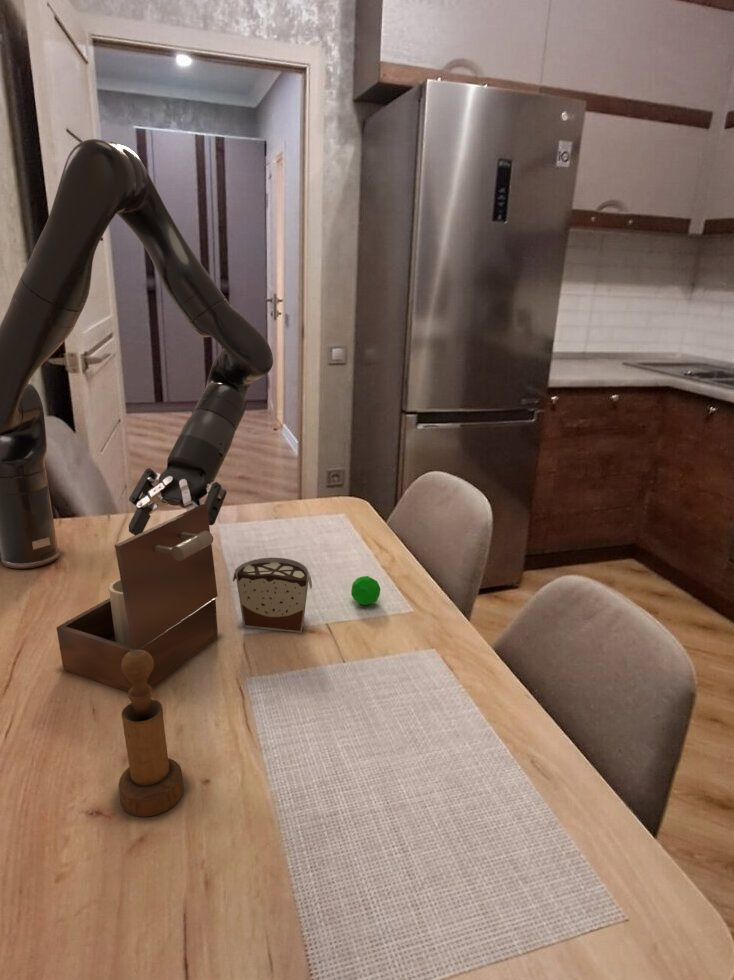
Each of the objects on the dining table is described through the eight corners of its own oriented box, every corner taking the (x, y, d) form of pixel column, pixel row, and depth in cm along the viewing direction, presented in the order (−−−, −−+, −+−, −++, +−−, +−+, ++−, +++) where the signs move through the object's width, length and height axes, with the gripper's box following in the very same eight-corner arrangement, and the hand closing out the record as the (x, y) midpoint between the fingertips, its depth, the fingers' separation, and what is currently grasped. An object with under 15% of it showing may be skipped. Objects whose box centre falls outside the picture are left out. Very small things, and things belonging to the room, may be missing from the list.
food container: (319, 614, 110) (319, 559, 107) (311, 633, 105) (311, 576, 101) (246, 607, 111) (244, 552, 107) (234, 626, 106) (231, 569, 102)
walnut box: (63, 669, 93) (56, 627, 90) (147, 616, 107) (143, 578, 104) (140, 696, 88) (135, 652, 85) (218, 637, 102) (215, 598, 100)
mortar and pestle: (112, 787, 73) (92, 646, 66) (171, 764, 77) (157, 628, 70) (131, 826, 68) (111, 679, 61) (193, 800, 72) (180, 658, 65)
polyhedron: (356, 611, 112) (357, 586, 110) (346, 598, 116) (347, 573, 114) (384, 607, 114) (385, 582, 112) (373, 594, 118) (374, 570, 116)
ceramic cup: (108, 649, 96) (100, 588, 92) (135, 632, 101) (128, 573, 97) (137, 659, 94) (130, 597, 91) (163, 641, 99) (158, 581, 95)
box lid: (114, 545, 80) (151, 551, 78) (202, 504, 94) (235, 508, 92) (132, 649, 85) (167, 657, 83) (213, 595, 100) (244, 601, 98)
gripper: (152, 426, 102) (103, 519, 97) (229, 440, 97) (182, 539, 92) (178, 452, 109) (133, 540, 103) (251, 466, 104) (209, 560, 98)
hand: (156, 540), depth 97 cm, fingers open, 8 cm apart
